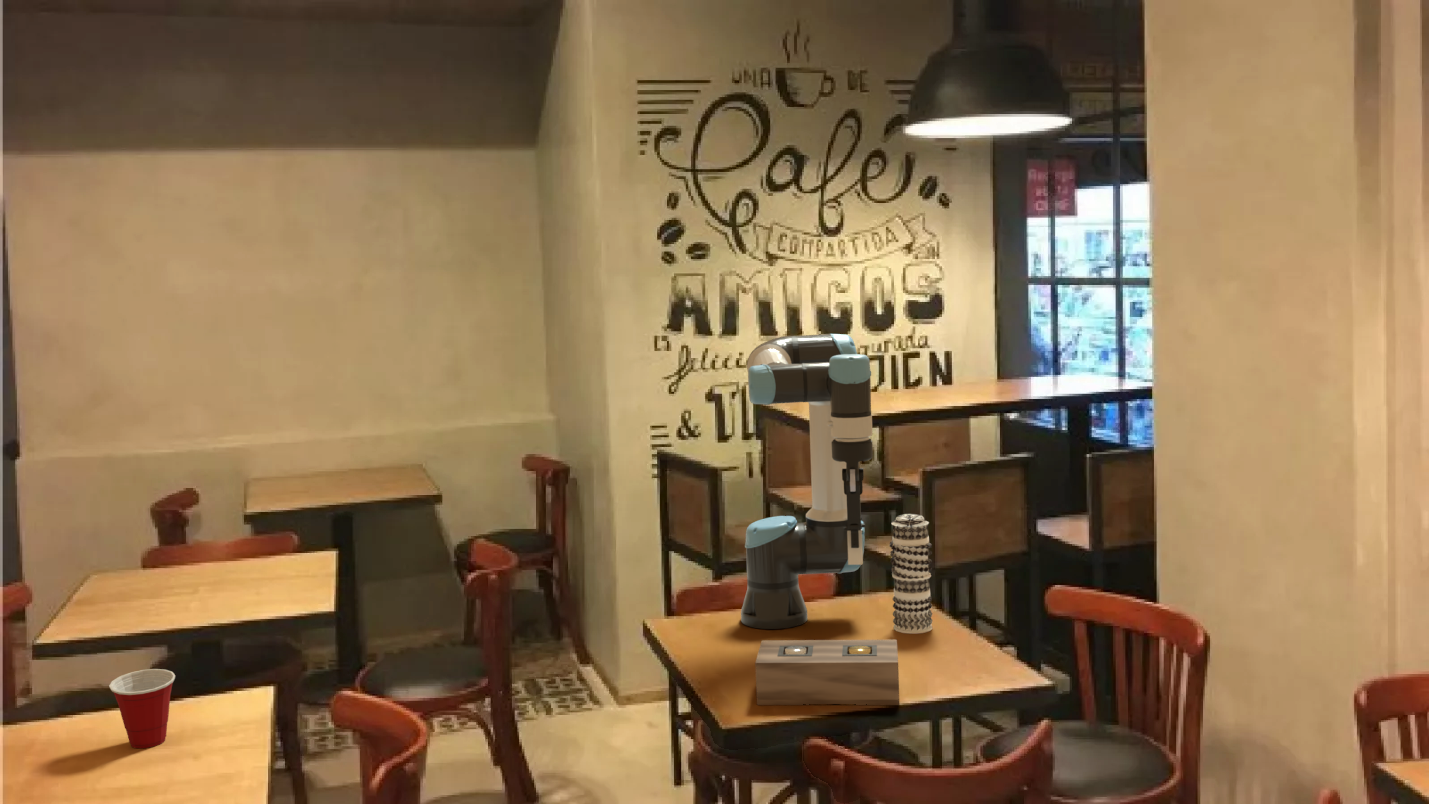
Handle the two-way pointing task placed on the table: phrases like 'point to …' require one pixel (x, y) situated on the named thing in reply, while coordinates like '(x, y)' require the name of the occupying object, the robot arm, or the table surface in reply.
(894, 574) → the white patterned cylinder
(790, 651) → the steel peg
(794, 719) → the table surface
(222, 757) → the table surface
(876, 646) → the walnut block
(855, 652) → the brass peg
